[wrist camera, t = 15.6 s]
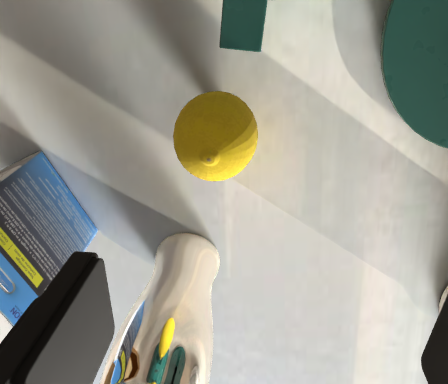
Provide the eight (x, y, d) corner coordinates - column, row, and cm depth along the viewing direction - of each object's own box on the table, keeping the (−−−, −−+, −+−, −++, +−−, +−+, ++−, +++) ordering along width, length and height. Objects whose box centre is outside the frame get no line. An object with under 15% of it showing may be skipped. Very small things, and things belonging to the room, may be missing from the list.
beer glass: (148, 226, 33) (76, 378, 20) (224, 229, 33) (201, 388, 20) (155, 284, 37) (98, 447, 24) (225, 288, 36) (205, 457, 23)
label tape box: (8, 163, 32) (-122, 253, 21) (45, 147, 30) (-72, 232, 20) (68, 242, 35) (-17, 352, 24) (103, 229, 34) (30, 339, 23)
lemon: (180, 141, 29) (155, 189, 22) (192, 71, 27) (168, 100, 20) (247, 158, 29) (243, 210, 22) (267, 90, 27) (269, 126, 20)
